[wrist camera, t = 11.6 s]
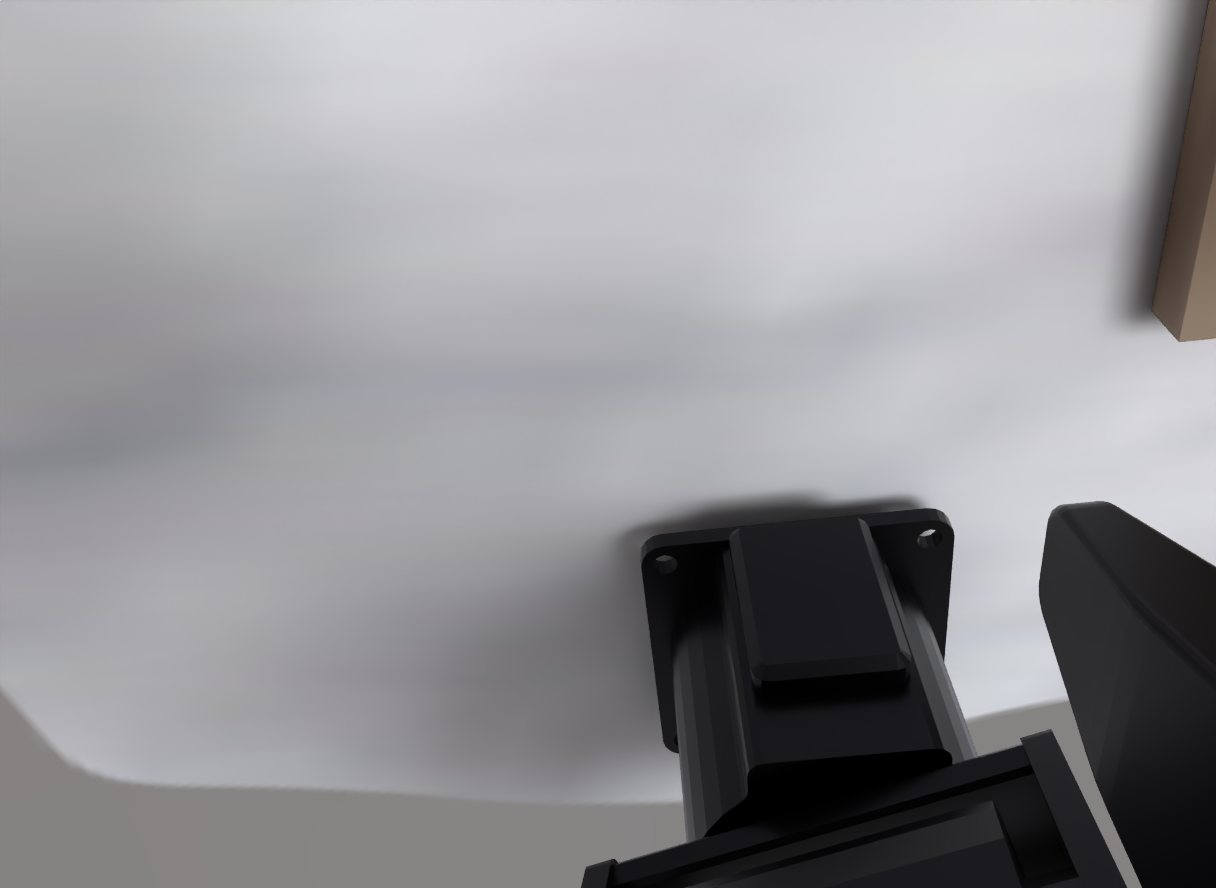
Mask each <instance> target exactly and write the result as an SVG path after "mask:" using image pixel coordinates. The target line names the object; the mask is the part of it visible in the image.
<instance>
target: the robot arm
mask: <svg viewBox="0 0 1216 888" xmlns="http://www.w3.org/2000/svg"><path fill="white" fill-rule="evenodd" d="M930 529H931V530H936V531H935V532H934V533H932V534H931V535H928V536H925V537H924V536H919V535H920V534H922V533H923V532H924V531H927V530H930ZM953 548H954V532H953V528H952V526H951V524H950V521H949V519H948V517H947V516H946V515H945V514H944V513H943V512H942V511H939V510H937V509H930V508H924V509H914V510H904V511H894V512H883V513H873V514H863V515H853V516H843V517H832V518H822V519H812V520H802V521H791V522H781V523H771V524H761V525H750V526H740V527H730V528H720V529H710V530H699V531H689V532H679V533H669V534H661V535H657V536H653V537H651V538H650V539H648V540H647V541H646V542H645V543H644V545H643V546H642V548H641V568H642V576H643V584H644V592H645V600H646V607H647V615H648V623H649V631H650V639H651V647H652V655H653V663H654V671H655V679H656V686H657V694H658V702H659V710H660V718H661V726H662V734H663V742H664V744H665V746H666V747H667V748H668V749H669V750H670V751H672V752H675V753H679V758H680V769H681V781H682V793H683V804H684V815H685V827H686V839H687V843H684V844H680V845H677V846H674V847H670V848H667V849H663V850H660V851H657V852H653V853H650V854H647V855H643V856H640V857H637V858H633V859H630V860H626V861H623V862H619V863H618V862H617V861H616V860H615V859H611V860H608V861H604V862H601V863H598V864H594V865H591V866H588V867H586V869H585V873H584V878H583V882H582V886H581V888H1127V886H1126V884H1125V882H1124V880H1123V878H1122V876H1121V874H1120V872H1119V870H1118V868H1117V866H1116V863H1115V861H1114V859H1113V857H1112V855H1111V853H1110V851H1109V849H1108V847H1107V845H1106V842H1105V840H1104V838H1103V836H1102V834H1101V832H1100V830H1099V828H1098V826H1097V824H1096V822H1095V820H1094V817H1093V815H1092V813H1091V811H1090V809H1089V807H1088V805H1087V803H1086V801H1085V799H1084V797H1083V795H1082V792H1081V790H1080V788H1079V786H1078V784H1077V782H1076V780H1075V778H1074V776H1073V774H1072V772H1071V769H1070V768H1069V765H1068V763H1067V761H1066V759H1065V757H1064V755H1063V753H1062V751H1061V749H1060V746H1059V744H1058V742H1057V740H1056V738H1055V736H1054V734H1053V732H1052V730H1051V729H1049V730H1046V731H1043V732H1039V733H1036V734H1033V735H1029V736H1026V737H1022V738H1020V739H1021V742H1022V744H1019V745H1016V746H1012V747H1009V748H1005V749H1002V750H999V751H995V752H992V753H988V754H985V755H982V756H978V755H977V752H976V749H975V746H974V744H973V741H972V738H971V735H970V733H969V730H968V727H967V724H966V722H965V719H964V716H963V713H962V710H961V708H960V705H959V702H958V699H957V697H956V694H955V691H954V688H953V686H952V683H951V680H950V677H949V675H948V672H947V669H946V666H945V664H944V657H945V645H946V633H947V621H948V609H949V596H950V584H951V572H952V560H953ZM663 555H667V556H671V557H673V558H672V559H671V560H669V561H665V562H664V561H658V560H657V558H658V557H660V556H663ZM1039 598H1040V605H1041V610H1042V614H1043V617H1044V620H1045V624H1046V627H1047V630H1048V633H1049V636H1050V640H1051V643H1052V646H1053V649H1054V652H1055V656H1056V659H1057V662H1058V665H1059V668H1060V672H1061V675H1062V678H1063V681H1064V684H1065V688H1066V691H1067V694H1068V697H1069V700H1070V704H1071V707H1072V710H1073V713H1074V716H1075V720H1076V723H1077V726H1078V729H1079V732H1080V735H1081V738H1082V742H1083V745H1084V748H1085V752H1086V755H1087V758H1088V760H1089V763H1090V766H1091V769H1092V772H1093V775H1094V778H1095V781H1096V784H1097V786H1098V788H1099V791H1100V793H1101V796H1102V798H1103V801H1104V803H1105V805H1106V808H1107V810H1108V812H1109V814H1110V817H1111V819H1112V821H1113V824H1114V826H1115V828H1116V830H1117V833H1118V835H1119V837H1120V839H1121V841H1122V844H1123V846H1124V848H1125V850H1126V853H1127V855H1128V857H1129V859H1130V862H1131V864H1132V866H1133V868H1134V870H1135V873H1136V875H1137V877H1138V879H1139V882H1140V884H1141V886H1142V888H1216V567H1215V566H1214V565H1212V564H1211V563H1209V562H1207V561H1206V560H1204V559H1202V558H1201V557H1199V556H1197V555H1196V554H1194V553H1192V552H1191V551H1189V550H1188V549H1186V548H1184V547H1183V546H1181V545H1179V544H1178V543H1176V542H1174V541H1173V540H1171V539H1170V538H1168V537H1166V536H1165V535H1163V534H1161V533H1160V532H1158V531H1156V530H1155V529H1153V528H1151V527H1150V526H1148V525H1147V524H1145V523H1143V522H1142V521H1140V520H1138V519H1137V518H1135V517H1133V516H1132V515H1130V514H1129V513H1127V512H1125V511H1124V510H1122V509H1120V508H1119V507H1117V506H1115V505H1113V504H1111V503H1109V502H1104V501H1095V502H1085V503H1075V504H1065V505H1060V506H1058V507H1056V508H1055V509H1054V510H1052V512H1051V514H1050V517H1049V519H1048V524H1047V531H1046V538H1045V545H1044V552H1043V559H1042V566H1041V573H1040V580H1039Z"/></svg>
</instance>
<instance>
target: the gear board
mask: <svg viewBox="0 0 1216 888" xmlns="http://www.w3.org/2000/svg"><path fill="white" fill-rule="evenodd" d="M1152 312H1153V313H1154V315H1155V316H1156V317H1157V318H1158V319H1159V320H1160V321H1161V322H1162V324H1163V325H1164V326H1165V327H1166V328H1167V329H1168V330H1169V331H1170V333H1171V334H1172V335H1173V336H1174V337H1175V338H1176V339H1177V340H1178V342H1185V341H1195V340H1204V339H1214V338H1216V0H1209V3H1208V9H1207V14H1206V20H1205V25H1204V30H1203V36H1202V41H1201V47H1200V52H1199V57H1198V63H1197V68H1196V74H1195V79H1194V84H1193V90H1192V95H1191V101H1190V106H1189V111H1188V117H1187V122H1186V128H1185V133H1184V139H1183V144H1182V149H1181V155H1180V160H1179V166H1178V171H1177V176H1176V182H1175V187H1174V193H1173V198H1172V203H1171V209H1170V214H1169V220H1168V225H1167V230H1166V236H1165V241H1164V247H1163V252H1162V257H1161V263H1160V268H1159V274H1158V279H1157V284H1156V290H1155V295H1154V301H1153V306H1152Z"/></svg>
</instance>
